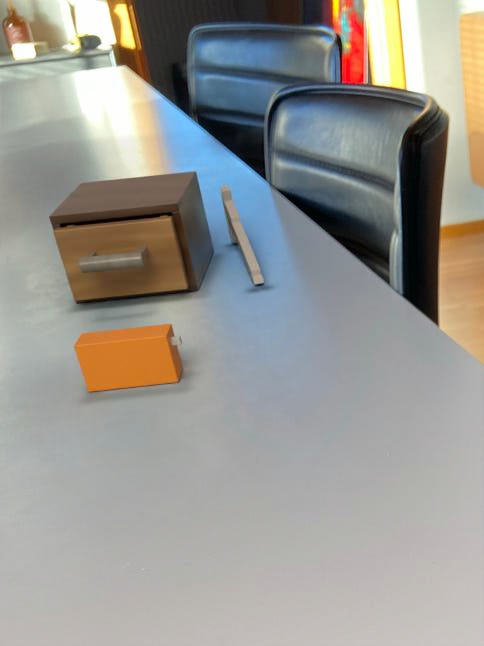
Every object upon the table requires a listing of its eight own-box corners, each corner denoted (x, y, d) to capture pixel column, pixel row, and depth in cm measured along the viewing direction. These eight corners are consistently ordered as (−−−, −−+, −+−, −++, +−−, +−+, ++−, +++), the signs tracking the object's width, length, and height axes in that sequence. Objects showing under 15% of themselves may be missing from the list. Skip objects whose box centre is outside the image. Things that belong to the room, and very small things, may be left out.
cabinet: (198, 290, 105) (177, 203, 100) (76, 303, 105) (48, 216, 100) (214, 251, 117) (196, 171, 112) (104, 262, 116) (81, 182, 111)
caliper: (229, 240, 120) (217, 183, 117) (239, 238, 121) (227, 182, 117) (255, 287, 105) (242, 224, 101) (265, 285, 105) (253, 222, 101)
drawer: (181, 302, 100) (163, 230, 95) (64, 314, 99) (41, 243, 95) (203, 251, 114) (188, 187, 110) (101, 262, 113) (82, 198, 109)
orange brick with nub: (88, 392, 85) (73, 345, 82) (95, 378, 87) (81, 332, 85) (187, 381, 85) (175, 334, 83) (192, 368, 87) (180, 322, 85)
